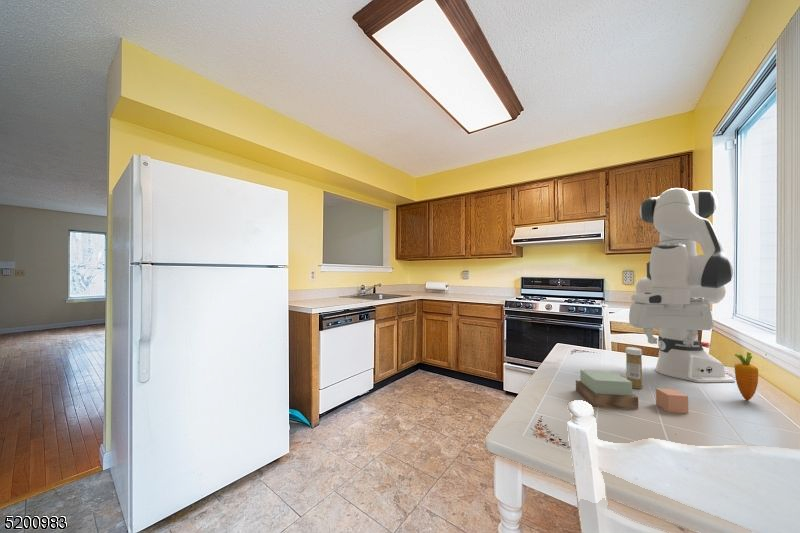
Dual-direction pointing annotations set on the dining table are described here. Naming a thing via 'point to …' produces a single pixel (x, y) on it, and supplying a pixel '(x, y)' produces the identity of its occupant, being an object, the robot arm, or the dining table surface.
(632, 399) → the tower base
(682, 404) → the terracotta block
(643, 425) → the dining table surface
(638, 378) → the sprinkles bottle
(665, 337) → the robot arm
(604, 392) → the tower top
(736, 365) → the carrot
